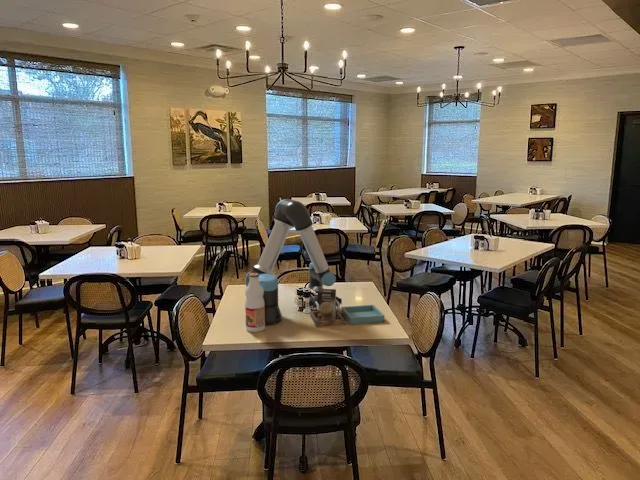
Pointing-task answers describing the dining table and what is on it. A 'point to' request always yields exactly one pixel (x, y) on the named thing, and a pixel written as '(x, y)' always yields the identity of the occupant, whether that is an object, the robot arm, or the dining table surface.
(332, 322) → the walnut frame
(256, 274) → the fruit juice
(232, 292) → the dining table surface
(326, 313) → the coffee box
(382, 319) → the teal tray
